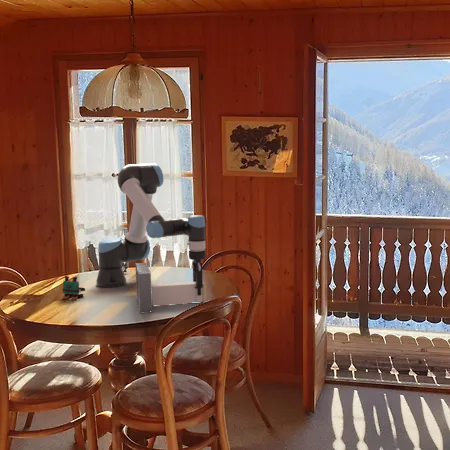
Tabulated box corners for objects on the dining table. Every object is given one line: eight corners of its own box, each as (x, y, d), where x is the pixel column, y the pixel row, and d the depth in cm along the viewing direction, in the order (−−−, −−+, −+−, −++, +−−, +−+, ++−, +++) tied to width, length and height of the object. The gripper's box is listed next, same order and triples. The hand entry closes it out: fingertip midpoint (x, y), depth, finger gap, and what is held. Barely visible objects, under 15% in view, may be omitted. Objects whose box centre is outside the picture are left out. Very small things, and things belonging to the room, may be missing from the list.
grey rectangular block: (153, 306, 277) (152, 286, 275) (152, 303, 281) (151, 284, 280) (204, 303, 281) (203, 283, 280) (202, 300, 286) (202, 281, 285)
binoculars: (88, 275, 297) (75, 277, 288) (87, 297, 298) (75, 300, 288) (72, 274, 301) (59, 276, 291) (71, 295, 301) (59, 298, 292)
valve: (104, 273, 349) (119, 275, 342) (103, 261, 348) (119, 263, 341) (112, 271, 354) (127, 273, 348) (112, 259, 353) (127, 261, 347)
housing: (140, 313, 266) (138, 273, 264) (136, 299, 290) (135, 263, 287) (151, 312, 267) (150, 273, 265) (147, 298, 291) (146, 262, 288)
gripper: (186, 247, 288) (187, 296, 291) (191, 253, 270) (192, 306, 273) (202, 246, 289) (202, 295, 292) (208, 252, 272) (209, 305, 275)
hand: (198, 300), depth 283 cm, fingers closed on grey rectangular block, 5 cm apart
